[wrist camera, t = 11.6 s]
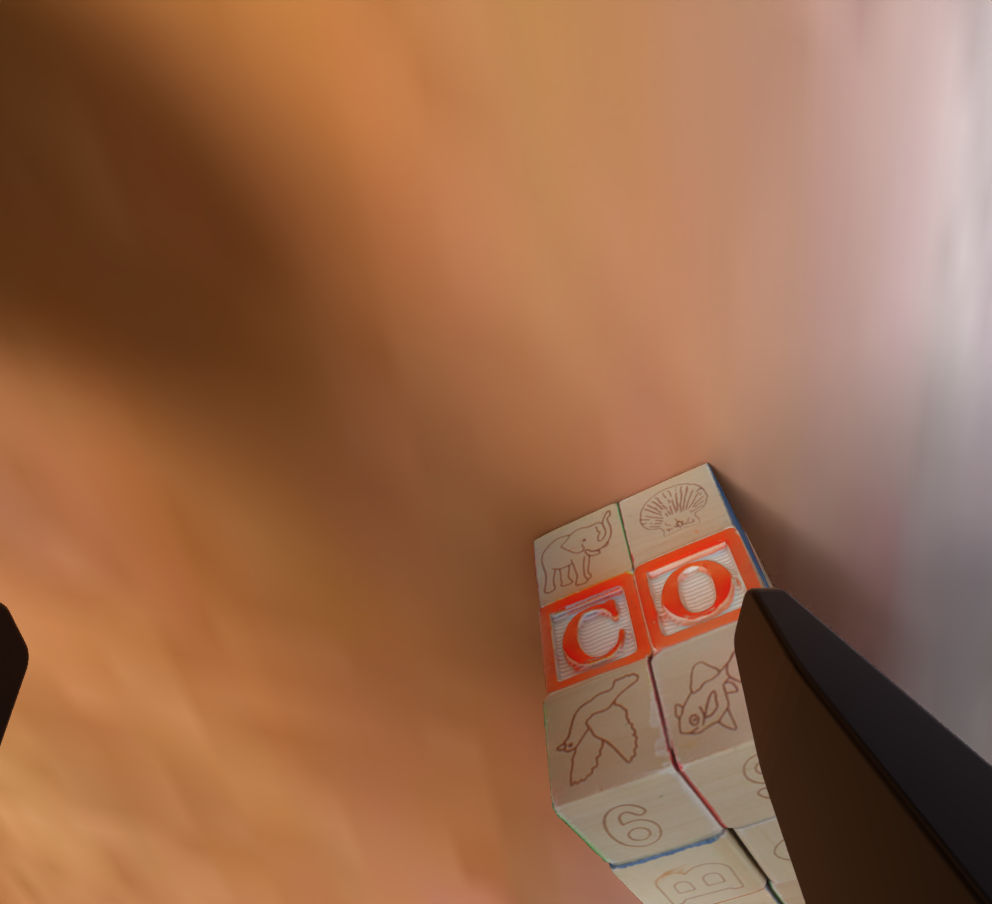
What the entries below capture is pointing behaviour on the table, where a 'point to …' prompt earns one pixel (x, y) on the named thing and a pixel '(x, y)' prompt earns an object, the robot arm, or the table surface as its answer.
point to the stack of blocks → (658, 697)
